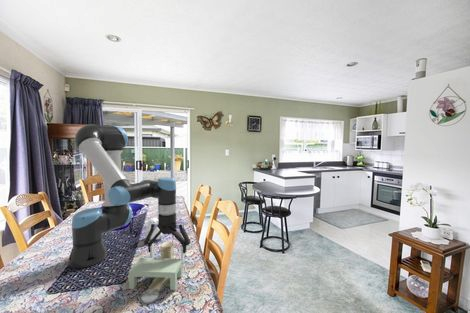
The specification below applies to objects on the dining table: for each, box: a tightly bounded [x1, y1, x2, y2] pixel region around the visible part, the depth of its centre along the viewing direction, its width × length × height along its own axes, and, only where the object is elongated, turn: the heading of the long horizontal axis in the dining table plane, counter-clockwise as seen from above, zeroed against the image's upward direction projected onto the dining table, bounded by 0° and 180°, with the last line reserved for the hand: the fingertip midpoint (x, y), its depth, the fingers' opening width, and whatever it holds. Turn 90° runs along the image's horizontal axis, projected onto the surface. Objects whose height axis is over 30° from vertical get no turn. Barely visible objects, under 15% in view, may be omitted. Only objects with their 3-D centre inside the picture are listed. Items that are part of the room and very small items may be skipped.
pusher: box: [147, 241, 175, 292], centre depth 91 cm, size 4×18×11 cm, turn 178°
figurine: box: [144, 217, 164, 241], centre depth 128 cm, size 10×10×12 cm
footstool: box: [128, 257, 183, 291], centre depth 88 cm, size 18×10×7 cm, turn 88°
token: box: [140, 289, 160, 304], centre depth 79 cm, size 6×6×2 cm
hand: (167, 259), depth 98 cm, fingers open, 13 cm apart
